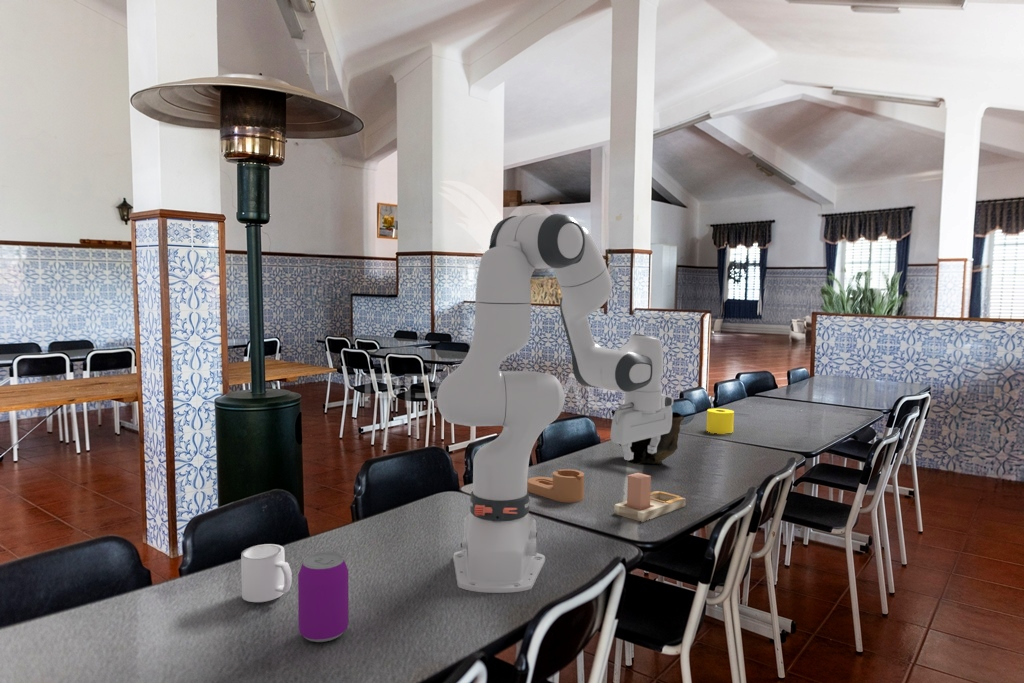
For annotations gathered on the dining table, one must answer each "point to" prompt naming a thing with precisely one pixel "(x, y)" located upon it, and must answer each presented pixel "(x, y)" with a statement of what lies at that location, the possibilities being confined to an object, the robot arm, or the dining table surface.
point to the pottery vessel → (664, 447)
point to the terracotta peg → (639, 491)
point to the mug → (264, 573)
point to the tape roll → (720, 421)
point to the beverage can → (323, 596)
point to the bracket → (559, 486)
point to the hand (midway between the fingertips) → (640, 456)
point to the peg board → (652, 506)
